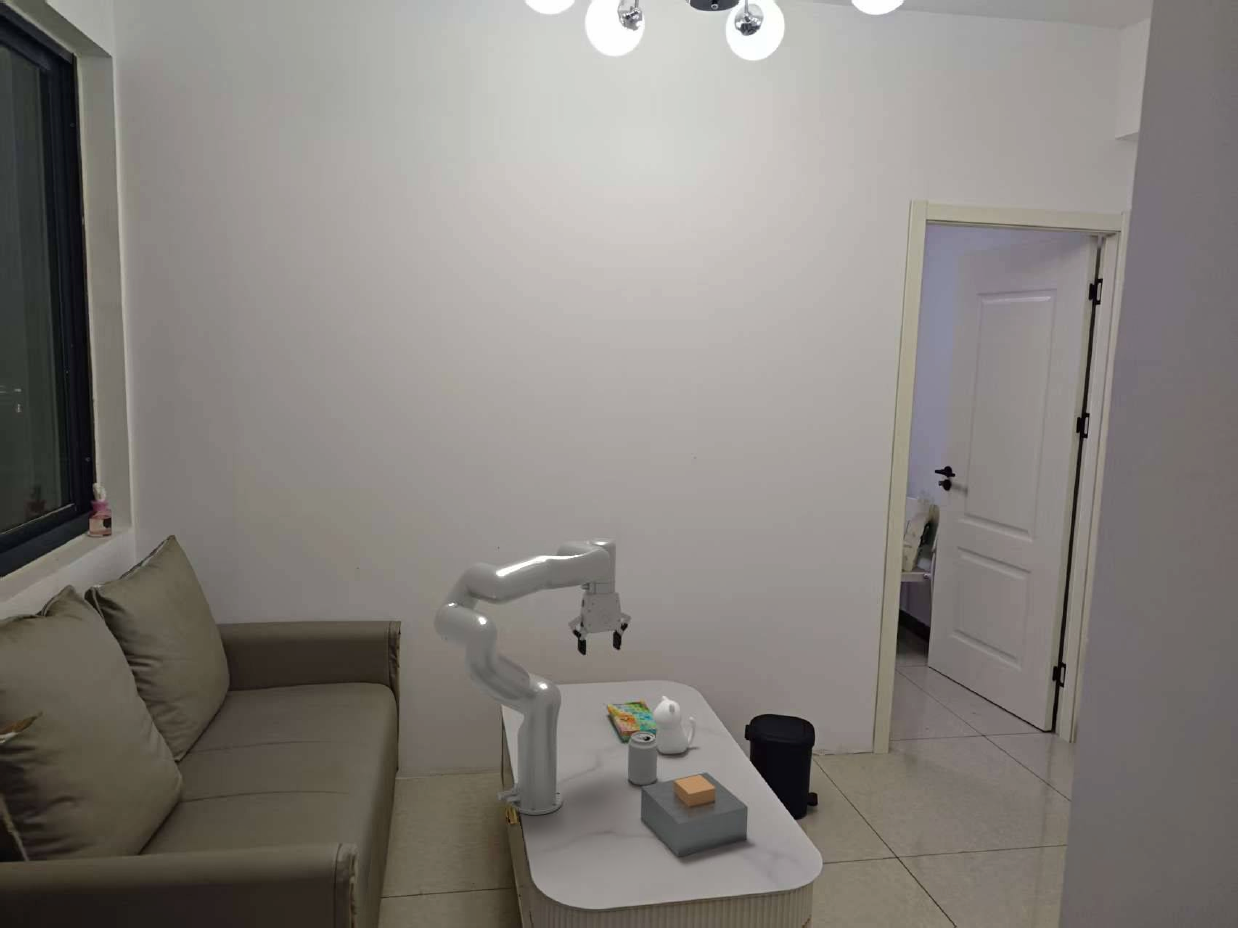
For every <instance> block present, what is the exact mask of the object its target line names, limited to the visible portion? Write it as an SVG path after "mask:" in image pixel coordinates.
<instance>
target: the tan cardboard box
mask: <svg viewBox="0 0 1238 928" xmlns="http://www.w3.org/2000/svg"><path fill="white" fill-rule="evenodd" d="M696 775H697V774H696ZM691 776H692V777H688V776H687V777H688V778H684V777H682V778H683V779H679V778H678V779H679V780H675V779H673V780H674V793H675V794H676V795H677V796H678V797H679V798H680V799H681V800H682V801H683V802H684V803H686V804H687V805H688V806H693V805H698V804H702V803H706V802H710V801H714V800H715V791H716V788H715V787H714V786H713V785H711V784H710V783H709V782H708V781H707V780H706V779H704V778H703V777H702V776H701V775H697V776H693V775H691Z"/></svg>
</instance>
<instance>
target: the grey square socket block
mask: <svg viewBox="0 0 1238 928" xmlns="http://www.w3.org/2000/svg"><path fill="white" fill-rule="evenodd" d="M697 775H701V776H702V777H703V778H704V779H706V780H707V781H708V782H709V783H710V784H711V785H713V786H714V787H715V788H716V791H715V800H714V801H710V802H706V803H702V804H698V805H693V806H688V805H687V804H686V803H684V802H683V801H682V800H681V799H680V798H679V797H678V796H677V795H676V794H675V793H674V780H679V779H683V778H688V777H692V776H697ZM640 792H641V793H640V794H641V796H640V819H641V820H642V822H643V823H644V824H645V825H646V826H648V828H649V829H650V830H651V831H652V832H653V833H654V834H655V835H656V837H658V839H659V840H660V841H661V842H662V843H663V844H664V845H665V846H666V847H667V849H669V850H670V851H671V853H673V854H674V856H676V857H677V859H678V858H681V857H682V858H683V857H686V856H690V855H694V854H697V853H701V852H704V851H708V850H712V849H717V848H719V847H723V846H724V847H725V846H728V845H732V844H735V843H739V842H743V841H746V840H748V839H747V837H748V836H747V835H748V834H747V833H748V814H749V808H748V807H749V806H747V805H746V804H745V803H744V802H743V801H741V799H740V798H738V796H736V795H735V794H733V793H732V792H731V791H730V790H728V789H727V788H726V787H725V786H724V785H722V784H721V782H719V781H717V779H715V777H713V776H712V775H711V774H710V773H708V772H702V773H698V774H694V775H689V776H685V777H680V778H675V779H670V780H666V781H662V782H656V783H651V784H648V785H642V786H641V791H640Z"/></svg>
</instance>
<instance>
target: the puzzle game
mask: <svg viewBox="0 0 1238 928" xmlns="http://www.w3.org/2000/svg"><path fill="white" fill-rule="evenodd" d="M605 705H606V706H605V707H606V710H607V712H608V713H609V715H610V719H611V720H612V722H613V724H614V726H615V728H616V729H617V732H618V733H619V735H620V737H621V739H622V740H623V741H624V742H629V740H630V739H631V735H632V734H634V733H636V732H649V733H652V734H653V735H654V736H655V739H656V732H657V730H658V728H659V727H658V726H657V725H656V724H655V723H654V721H653V714H652V712H651V710H650V709H649V707H648V705H647V704H646V702H645V701H631V702H614V703H606V704H605Z"/></svg>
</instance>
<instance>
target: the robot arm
mask: <svg viewBox="0 0 1238 928" xmlns="http://www.w3.org/2000/svg"><path fill="white" fill-rule="evenodd" d="M616 551H617V545H616V541H614V540H613V539H611V538H607V537H594V538H593V537H592V538H590V539H589V540H572V541H567V542H564V543H563V544H562V545H560V547H559V548H558V549H557V551H556V555H547V554H545V555H544V554H538V555H537V554H536V555H535V554H534V555H530V556H526V557H524V558H520V559H517V560H516V561H512V562H510V563H506V564H502V565H493V564H489V563H486V562H483V561H481V562H480V561H478V562H475V563H474V562H473V563H472V564H470V565H469V566H468V567H467V568H466V569H465V570H464V571H463V572H462V574H461V575H460V576H459V577H458V579H456V581H455V583H454V584H453V586H452V587H451V589H450V591H449V592H448V593H447V595H446V597H445V598H444V600H443V601H442V603H441V604H440V606H439V608H438V609H437V611H436V613H435V615H434V619H433V628H434V631H435V633H436V634H437V636H438V637H439V638H441V639H442V640H444V641H445V642H446V641H447V642H449V643H451V644H454V645H457V646H459V647H462V648H464V650H465V654H464V655H465V656H464V673H465V675H466V677H468V679H469V683H470V684H471V686H472V687H473V688H474V689H475V690H476V691H478V692H479V693H481V694H483V695H484V696H486V697H488V698H490V699H491V700H493V701H495V702H496V703H498V704H501V705H502V706H503V707H504V706H505V707H507V708H509V709H511V710H514V711H516V712H518V713H520V714H522V715H523V721H522V722H521V724H520V725H519V728H518V731H517V782H516V783H513V788H512V787H511V788H510V790H503V791H499V792H498V794H497V796H498V800H499V801H500V802H501V801H505V800H506V804H511V807H513V810H515V811H517V812H519V813H521V814H525V815H528V816H529V815H532V816H539V815H540V816H541V815H547V814H549V813H553V812H555V811H556V810H558V809H559V808H560V807H561V806H562V804H563V801H564V800H563V794H562V793H561V791H559V790H558V789H557V770H558V769H557V765H558V764H557V763H558V762H557V758H558V757H557V756H558V755H557V754H558V753H557V752H558V750H557V749H558V744H557V743H558V742H557V741H558V720H559V714H560V709H561V705H562V693H561V691H560V688H559V687H558V686H557V685H556V684H555V683H554V682H552V681H551V680H549V679H547V678H545V677H542V676H539V675H536V674H533V673H531V672H528V671H527V670H526V668H524V666H523V665H522V664H520V663H519V662H517V661H515V660H513V659H512V658H509V657H508V656H506V655H505V654H503V653H501V652H500V651H499V650H498V649H497V648H498V647H497V643H498V629H497V626H496V623H495V621H493V619H492V618H491V617H490V616H488V615H487V614H485V613H484V612H481V611H479V610H475V608H476V606H477V605H478V603H479V601H482V602H485V603H488V604H492V605H498V606H499V605H505V604H508V603H511V602H514V601H516V600H519V599H521V598H525V597H527V596H529V595H533V594H536V593H537V592H541V591H545V590H555V589H564V588H570V587H571V588H572V587H577V586H578V587H579V586H580V588H581V590H585V591H583V594H582V598H581V604H580V610H579V611H580V613H579V616H576V617H575V618H574V619H572V620H571V621H569V622H568V624H567V626H568V627H569V630H570V631H571V633H572V634H573V635H574V636H575V637H576V638H577V651H578V652H579V653H580V654H581V655H582V656H586V655H587V640H586V638H587V635H589V634H598V633H605V632H606V633H607V632H611V631H613V633H612V647H613V648H614V649H615V650H617V651H621V646H622V641H623V640H622V637H623V635H624V632H625V631H626V630H627V628H628V627H629V624H630V622H631V619H632V617H631V616H630V615H629V614H627V613H625V612H622V607H621V600H620V594H619V591H618V590H616V561H617V560H616V554H617V552H616ZM622 619H623V620H622ZM578 625H579V627H580V628H579V630H578V629H577V626H578Z"/></svg>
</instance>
